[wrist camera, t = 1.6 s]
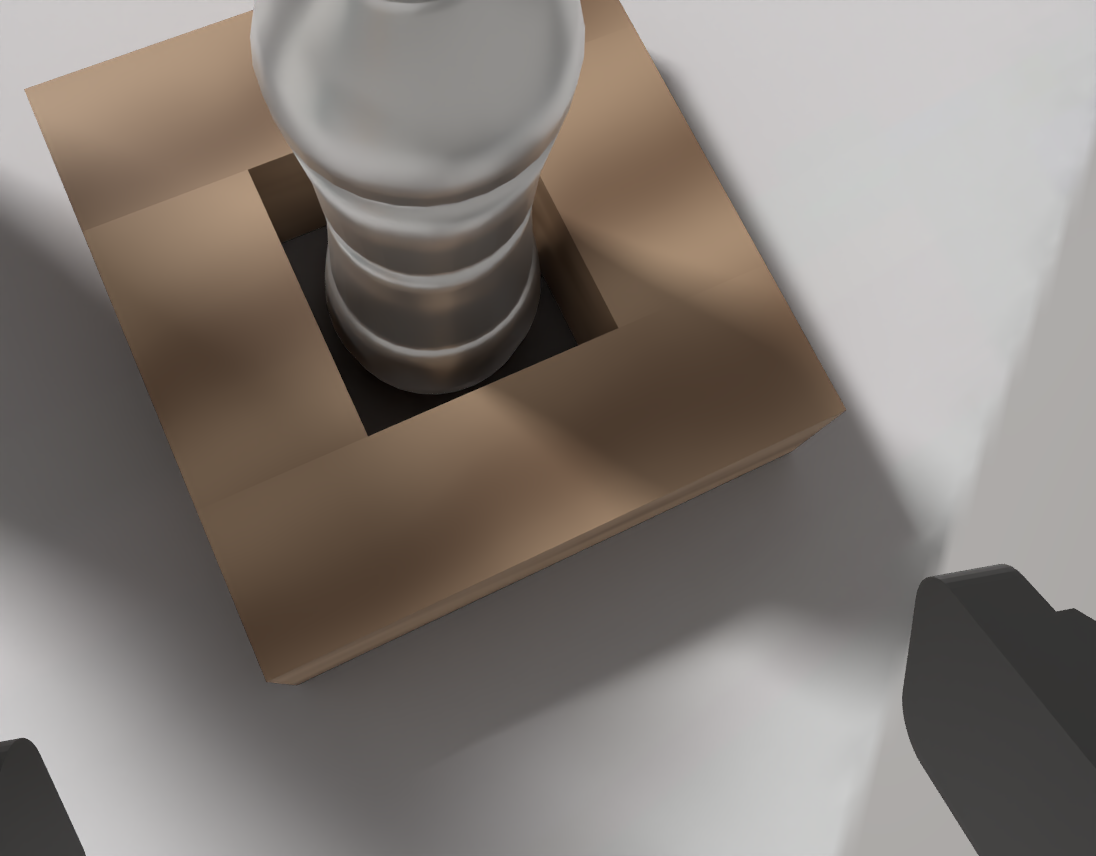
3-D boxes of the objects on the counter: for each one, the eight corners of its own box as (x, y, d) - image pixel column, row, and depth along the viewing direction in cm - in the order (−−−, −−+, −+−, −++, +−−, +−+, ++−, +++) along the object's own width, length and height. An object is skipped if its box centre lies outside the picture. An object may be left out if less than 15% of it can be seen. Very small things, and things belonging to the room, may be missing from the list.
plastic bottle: (303, 373, 33) (85, -79, 14) (379, 192, 35) (279, -433, 16) (495, 439, 33) (543, 76, 14) (562, 254, 35) (686, -295, 16)
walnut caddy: (85, 175, 34) (24, 89, 30) (551, 4, 37) (564, -98, 33) (296, 685, 31) (266, 682, 26) (791, 451, 34) (846, 409, 29)
